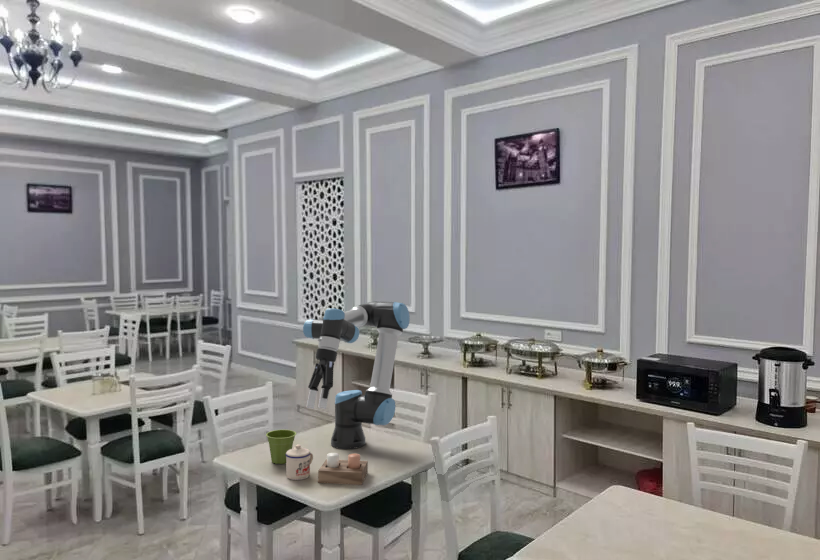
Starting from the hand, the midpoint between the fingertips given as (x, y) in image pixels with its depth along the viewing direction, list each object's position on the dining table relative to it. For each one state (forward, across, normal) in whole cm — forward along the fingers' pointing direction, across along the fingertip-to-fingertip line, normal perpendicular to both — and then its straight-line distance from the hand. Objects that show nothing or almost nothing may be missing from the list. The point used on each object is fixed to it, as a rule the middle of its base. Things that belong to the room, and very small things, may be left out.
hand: (315, 408), depth 206 cm
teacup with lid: (+24, -17, +5) cm, 30 cm away
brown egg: (+20, -5, +21) cm, 29 cm away
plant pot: (+21, -34, +1) cm, 40 cm away
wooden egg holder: (+22, -7, +18) cm, 30 cm away
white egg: (+21, -9, +14) cm, 27 cm away
